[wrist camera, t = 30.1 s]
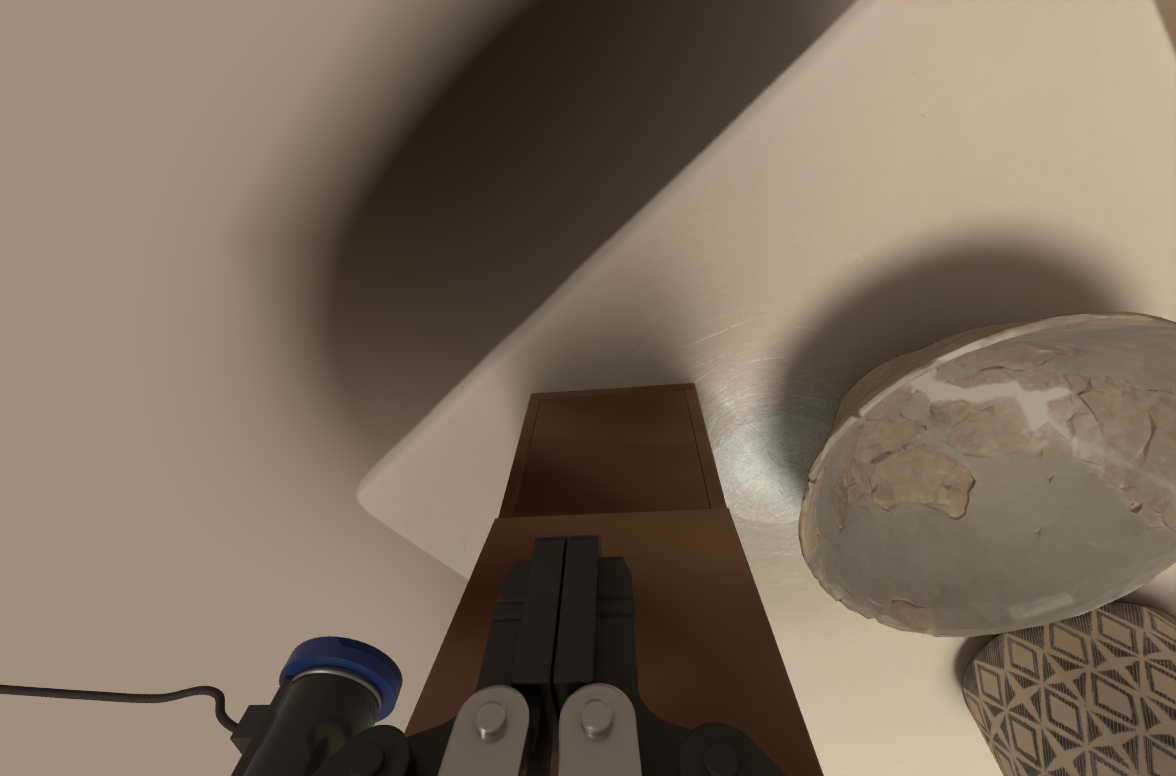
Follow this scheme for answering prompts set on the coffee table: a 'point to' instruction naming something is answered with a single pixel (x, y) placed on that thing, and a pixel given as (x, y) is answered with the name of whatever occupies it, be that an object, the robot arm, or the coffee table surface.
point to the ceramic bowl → (1000, 477)
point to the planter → (1080, 695)
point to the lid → (651, 627)
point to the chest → (613, 454)
